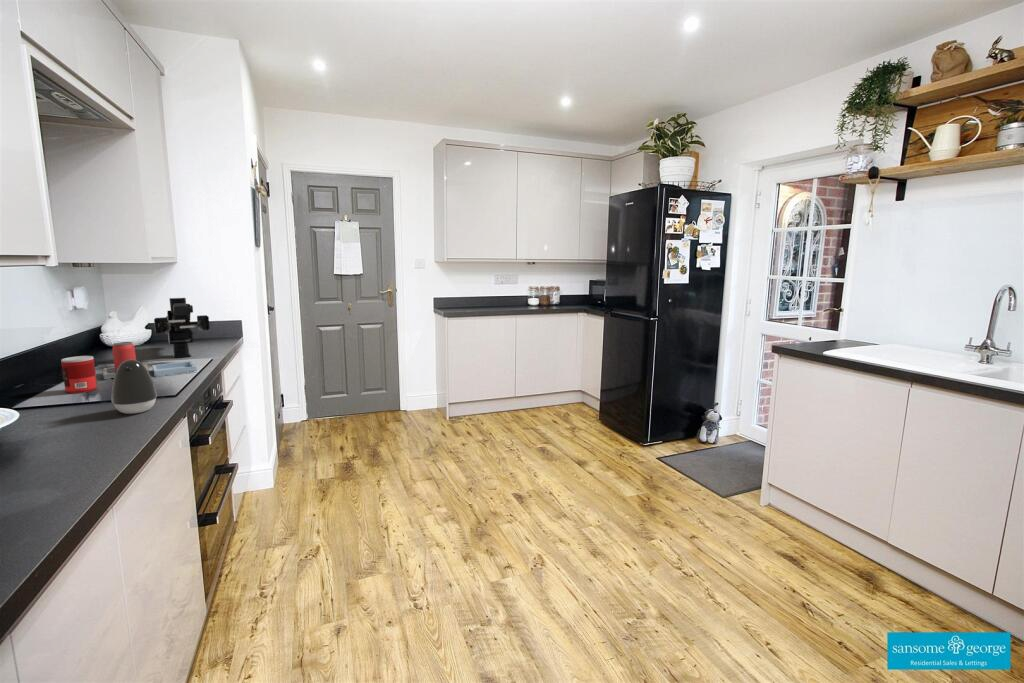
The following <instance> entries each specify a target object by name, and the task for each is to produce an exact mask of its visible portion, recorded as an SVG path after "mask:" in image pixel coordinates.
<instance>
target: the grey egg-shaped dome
mask: <svg viewBox="0 0 1024 683" xmlns="http://www.w3.org/2000/svg"><path fill="white" fill-rule="evenodd" d="M157 397H158V393H157V390H156V386H155V383H154V381H153V378H152V375H151V374H150V371H149V372H148V370H147V369H146V367H145V366H144V365H143V363H142V362H141V361H140V360H137V359H136V360H126V361H124V362H122V363H121V364H120V366H119V367H118V369H117V371H116V374H115V377H114V379H113V382H112V387H111V403H112V404H113V405H114V407H115V409H116V410H117V411H119V412H120V413H123V414H127V415H135V414H141V413H145V412H147V411H149V410H151V408H153V406H154V405H155V404H156V399H157Z"/></svg>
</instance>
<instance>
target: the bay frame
mask: <svg viewBox="0 0 1024 683" xmlns="http://www.w3.org/2000/svg"><path fill="white" fill-rule="evenodd" d="M142 364H143V363H142ZM143 365H144V366H145V367H146V369H147V370H148V372H149V373H150V370H149V367H148V364H147V363H145V364H143ZM108 372H115V367H114V366H112V367H104V368H103V372H102V373H103V374H102V375H103V380H104V379H109V380H111V379H110V378H114V377H115V374H116V373H108Z"/></svg>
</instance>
